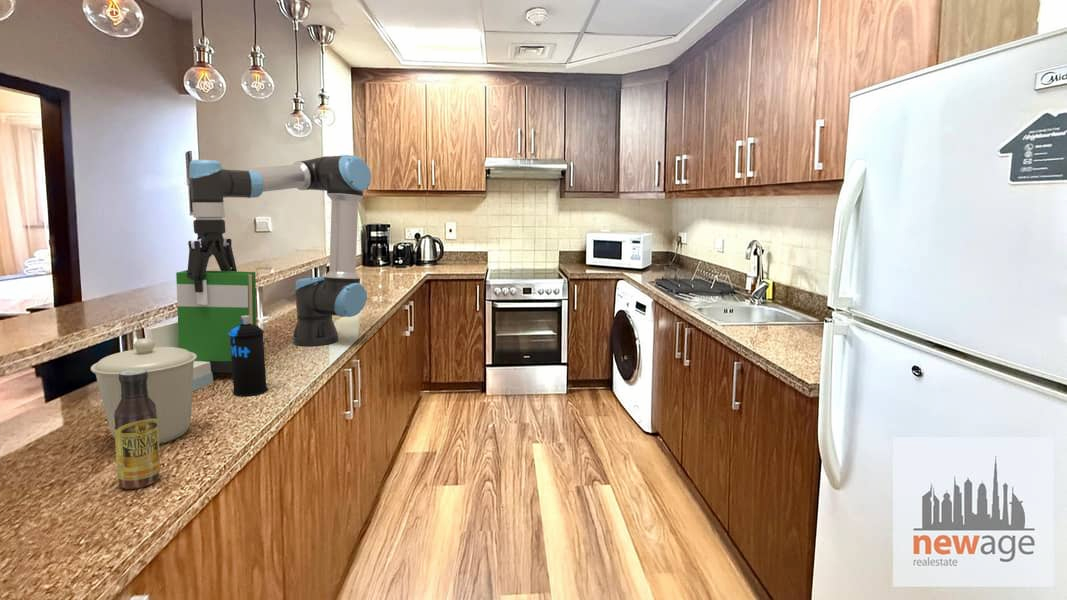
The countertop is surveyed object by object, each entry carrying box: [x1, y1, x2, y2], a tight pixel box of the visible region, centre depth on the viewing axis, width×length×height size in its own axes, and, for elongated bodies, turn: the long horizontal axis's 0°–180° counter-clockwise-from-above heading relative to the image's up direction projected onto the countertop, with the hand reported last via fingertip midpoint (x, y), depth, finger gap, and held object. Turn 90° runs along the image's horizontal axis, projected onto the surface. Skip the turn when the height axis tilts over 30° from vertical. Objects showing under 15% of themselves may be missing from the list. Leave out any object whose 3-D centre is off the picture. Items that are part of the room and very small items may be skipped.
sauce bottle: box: [114, 369, 161, 490], centre depth 102 cm, size 7×6×20 cm
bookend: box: [203, 361, 233, 374], centre depth 172 cm, size 2×11×12 cm, turn 80°
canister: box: [90, 337, 197, 445], centre depth 121 cm, size 18×18×21 cm
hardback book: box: [175, 269, 257, 361], centre depth 163 cm, size 18×7×24 cm, turn 100°
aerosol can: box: [228, 316, 269, 398], centre depth 152 cm, size 8×8×20 cm
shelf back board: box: [146, 320, 179, 348], centre depth 164 cm, size 19×1×16 cm, turn 170°
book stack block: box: [193, 361, 214, 392], centre depth 158 cm, size 8×11×6 cm
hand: (215, 301), depth 163 cm, fingers closed on hardback book, 9 cm apart
